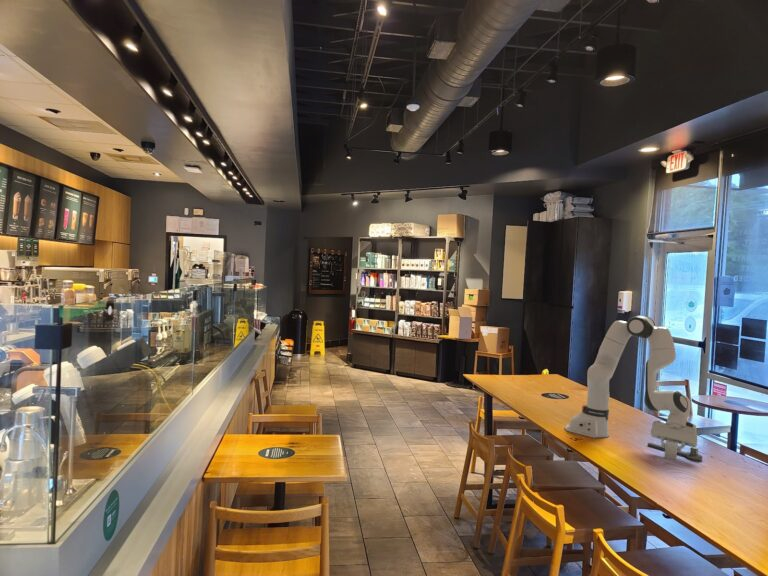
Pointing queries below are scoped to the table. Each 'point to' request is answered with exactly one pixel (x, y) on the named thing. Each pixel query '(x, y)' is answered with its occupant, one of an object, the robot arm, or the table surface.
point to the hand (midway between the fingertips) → (670, 448)
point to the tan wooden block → (671, 449)
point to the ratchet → (689, 455)
